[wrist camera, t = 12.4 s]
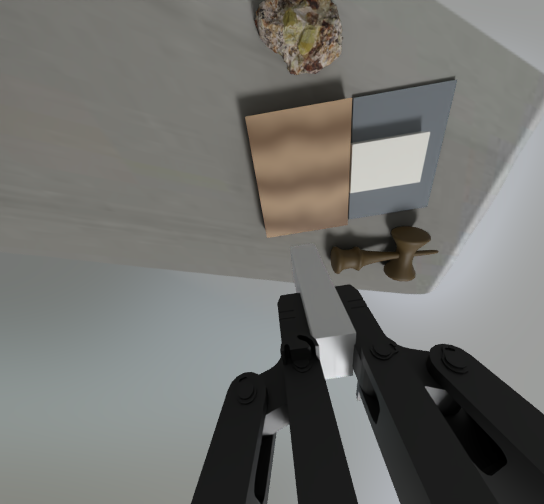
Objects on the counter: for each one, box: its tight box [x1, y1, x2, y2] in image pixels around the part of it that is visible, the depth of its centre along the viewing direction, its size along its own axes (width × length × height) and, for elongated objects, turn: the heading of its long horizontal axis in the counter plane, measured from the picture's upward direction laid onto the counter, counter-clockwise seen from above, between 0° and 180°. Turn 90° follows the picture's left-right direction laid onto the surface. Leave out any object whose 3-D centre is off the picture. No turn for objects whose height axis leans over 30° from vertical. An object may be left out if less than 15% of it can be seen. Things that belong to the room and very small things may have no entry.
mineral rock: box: [254, 0, 343, 75], centre depth 25 cm, size 11×4×8 cm
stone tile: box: [349, 131, 430, 193], centre depth 33 cm, size 7×11×2 cm, turn 98°
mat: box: [348, 80, 457, 219], centre depth 34 cm, size 18×14×1 cm
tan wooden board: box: [245, 98, 352, 238], centre depth 33 cm, size 18×14×2 cm
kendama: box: [331, 226, 438, 281], centre depth 41 cm, size 6×10×20 cm
